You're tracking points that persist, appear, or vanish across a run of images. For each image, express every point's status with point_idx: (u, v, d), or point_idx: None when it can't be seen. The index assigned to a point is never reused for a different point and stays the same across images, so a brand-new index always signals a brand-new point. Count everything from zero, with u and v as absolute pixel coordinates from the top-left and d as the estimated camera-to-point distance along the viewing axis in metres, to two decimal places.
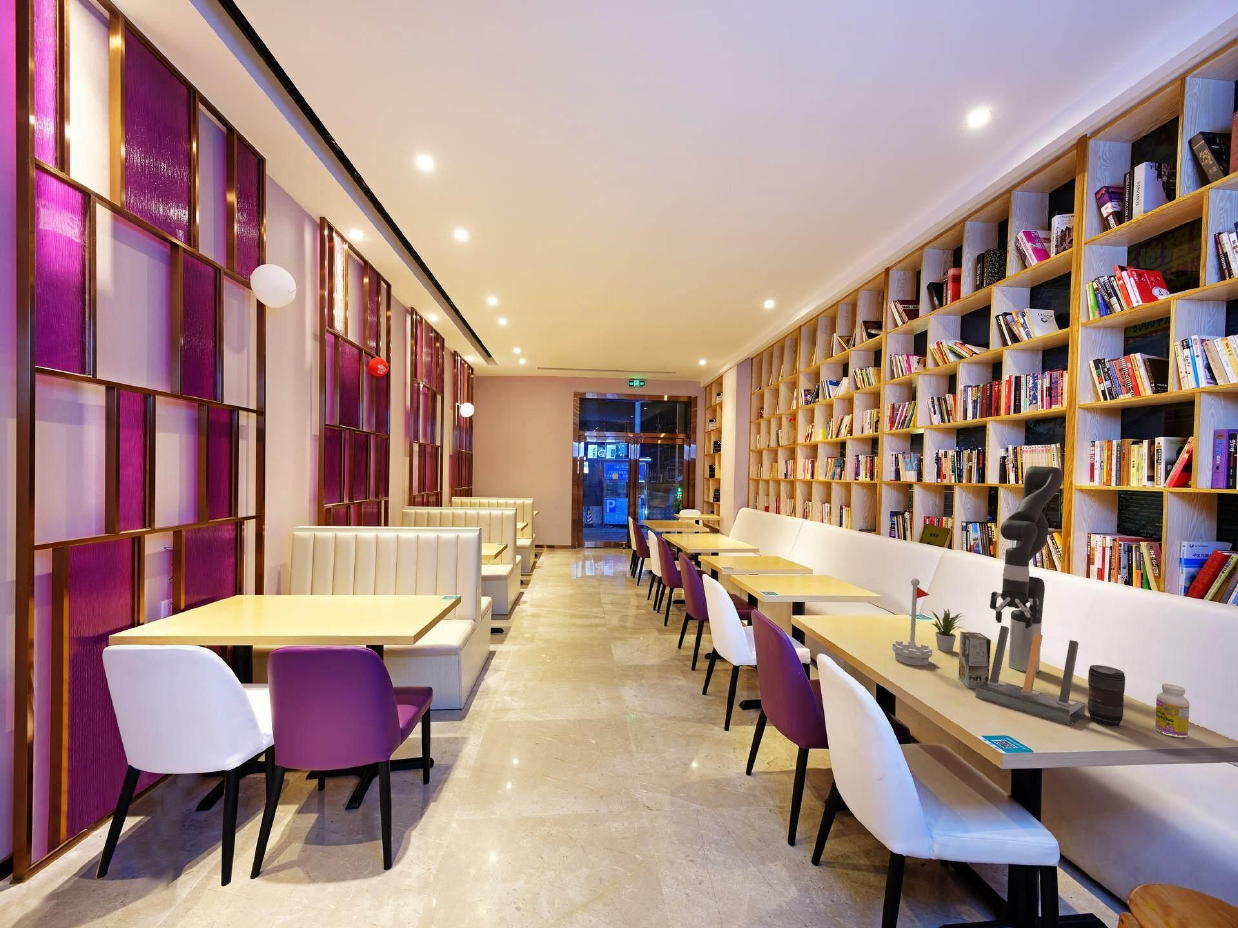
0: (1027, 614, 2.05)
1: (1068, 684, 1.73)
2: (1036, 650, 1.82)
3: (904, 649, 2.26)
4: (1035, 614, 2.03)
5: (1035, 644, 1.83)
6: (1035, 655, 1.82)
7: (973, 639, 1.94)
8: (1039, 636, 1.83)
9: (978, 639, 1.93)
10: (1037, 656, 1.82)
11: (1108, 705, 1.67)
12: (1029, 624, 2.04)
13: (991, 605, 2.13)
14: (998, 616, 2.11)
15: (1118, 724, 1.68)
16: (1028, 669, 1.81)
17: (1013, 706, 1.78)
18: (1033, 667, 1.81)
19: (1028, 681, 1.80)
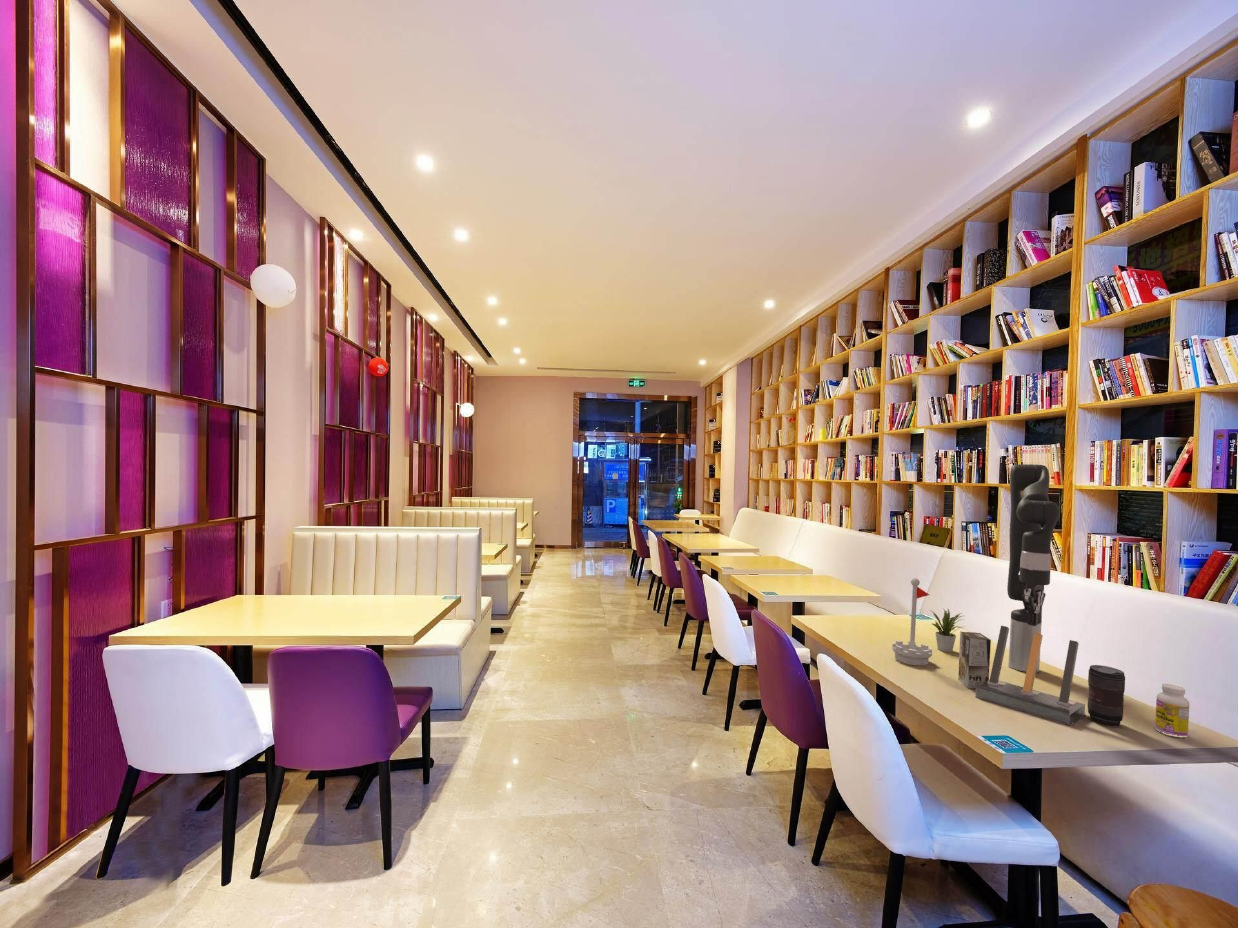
0: (1038, 609, 1.80)
1: (1068, 684, 1.73)
2: (1036, 650, 1.82)
3: (904, 649, 2.26)
4: (1041, 607, 1.82)
5: (1035, 644, 1.83)
6: (1035, 655, 1.82)
7: (973, 639, 1.93)
8: (1039, 636, 1.83)
9: (978, 639, 1.93)
10: (1037, 656, 1.82)
11: (1108, 705, 1.67)
12: None
13: (1034, 608, 1.78)
14: (1036, 618, 1.80)
15: (1118, 724, 1.68)
16: (1028, 669, 1.81)
17: (1013, 706, 1.78)
18: (1033, 667, 1.81)
19: (1028, 681, 1.80)
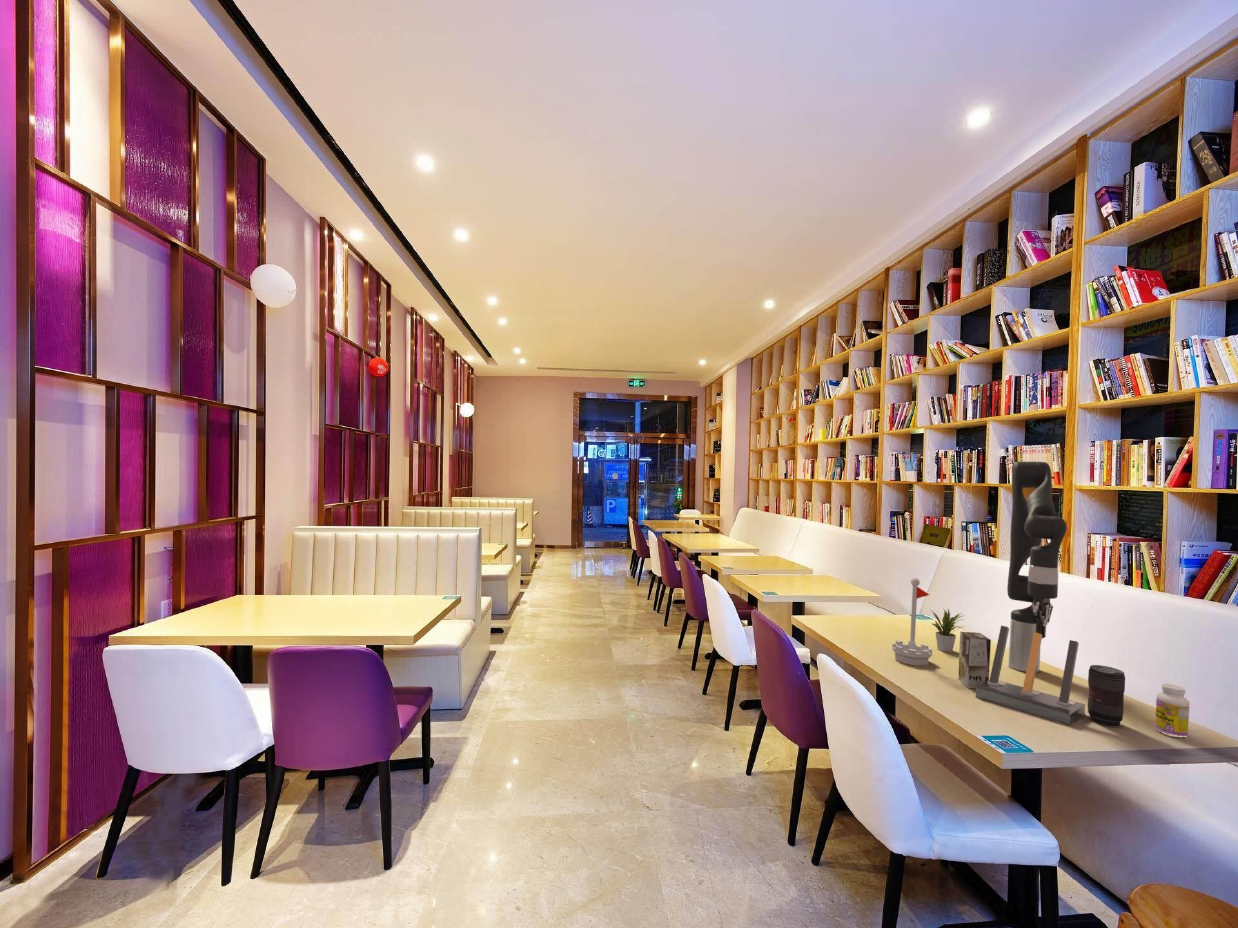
0: (1046, 621, 1.85)
1: (1068, 684, 1.73)
2: (1036, 650, 1.82)
3: (904, 649, 2.26)
4: (1049, 619, 1.86)
5: (1035, 644, 1.83)
6: (1035, 655, 1.81)
7: (973, 639, 1.93)
8: (1039, 636, 1.83)
9: (978, 639, 1.93)
10: (1037, 656, 1.82)
11: (1108, 705, 1.67)
12: None
13: (1043, 621, 1.83)
14: (1044, 631, 1.84)
15: (1118, 724, 1.68)
16: (1028, 669, 1.81)
17: (1013, 706, 1.78)
18: (1033, 667, 1.80)
19: (1028, 681, 1.80)
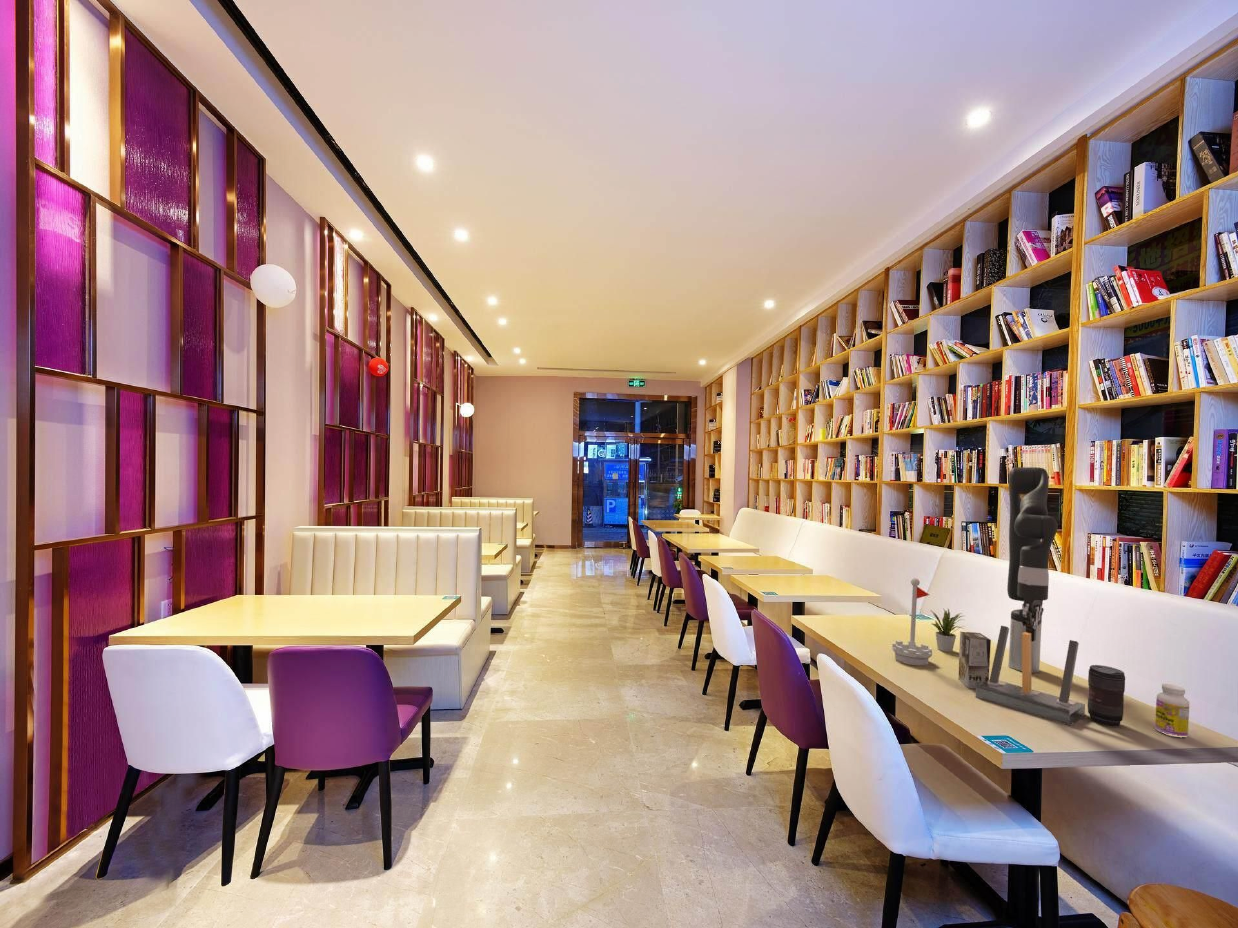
0: (1036, 624, 1.79)
1: (1068, 684, 1.73)
2: (1028, 652, 1.77)
3: (904, 649, 2.26)
4: (1039, 622, 1.80)
5: (1025, 646, 1.78)
6: (1027, 657, 1.77)
7: (973, 639, 1.93)
8: (1028, 637, 1.77)
9: (978, 639, 1.93)
10: (1030, 656, 1.78)
11: (1108, 705, 1.67)
12: None
13: (1032, 623, 1.77)
14: (1034, 634, 1.78)
15: (1118, 724, 1.68)
16: (1023, 671, 1.79)
17: (1013, 706, 1.78)
18: (1028, 669, 1.78)
19: (1026, 683, 1.79)
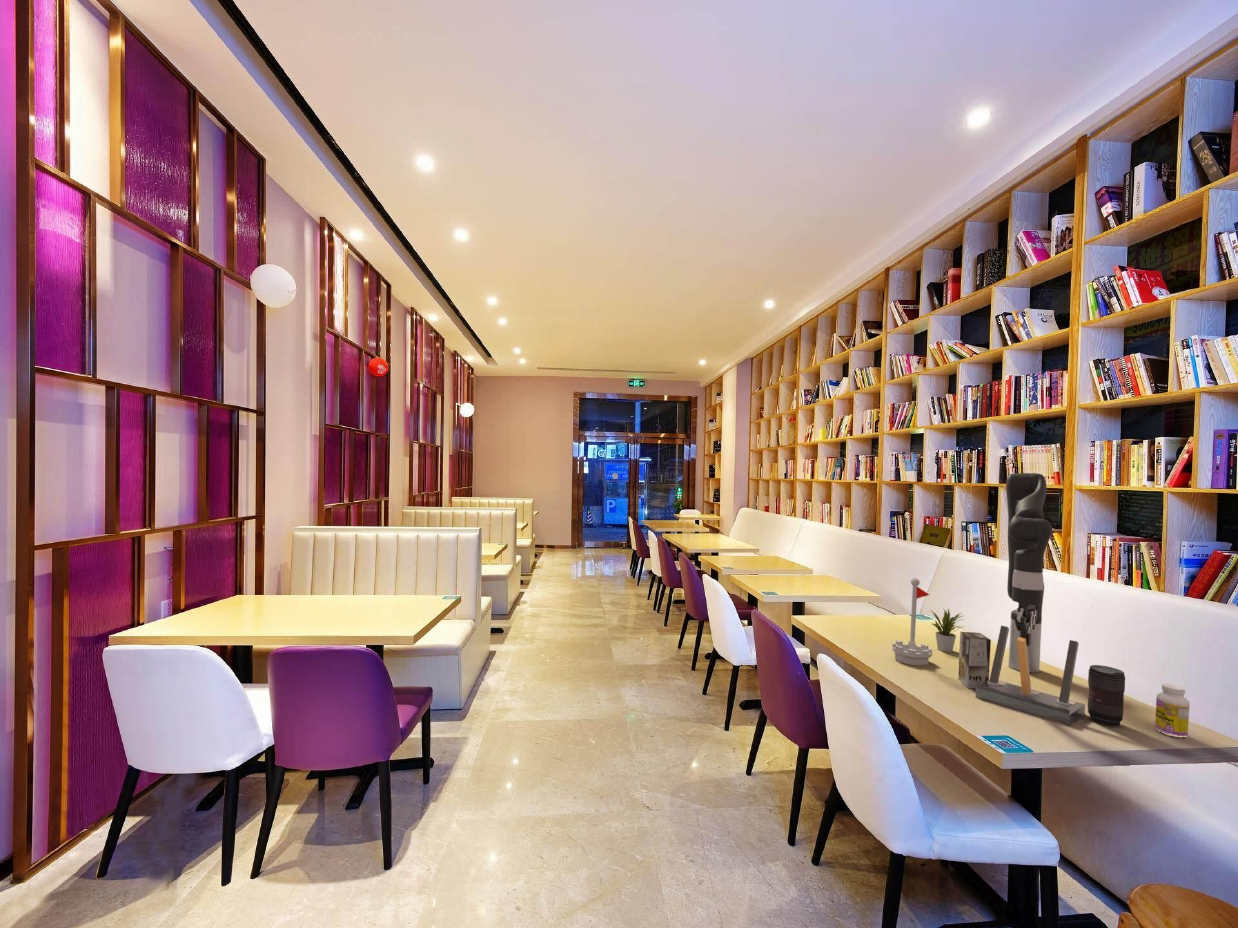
0: (1031, 629, 1.76)
1: (1068, 684, 1.73)
2: (1024, 657, 1.75)
3: (904, 649, 2.26)
4: (1033, 626, 1.78)
5: (1021, 651, 1.76)
6: (1024, 661, 1.76)
7: (973, 639, 1.93)
8: (1023, 644, 1.74)
9: (978, 639, 1.93)
10: (1026, 660, 1.76)
11: (1108, 705, 1.67)
12: None
13: (1027, 628, 1.74)
14: (1029, 638, 1.76)
15: (1118, 724, 1.68)
16: (1021, 674, 1.78)
17: (1013, 706, 1.78)
18: (1026, 672, 1.77)
19: (1025, 685, 1.78)
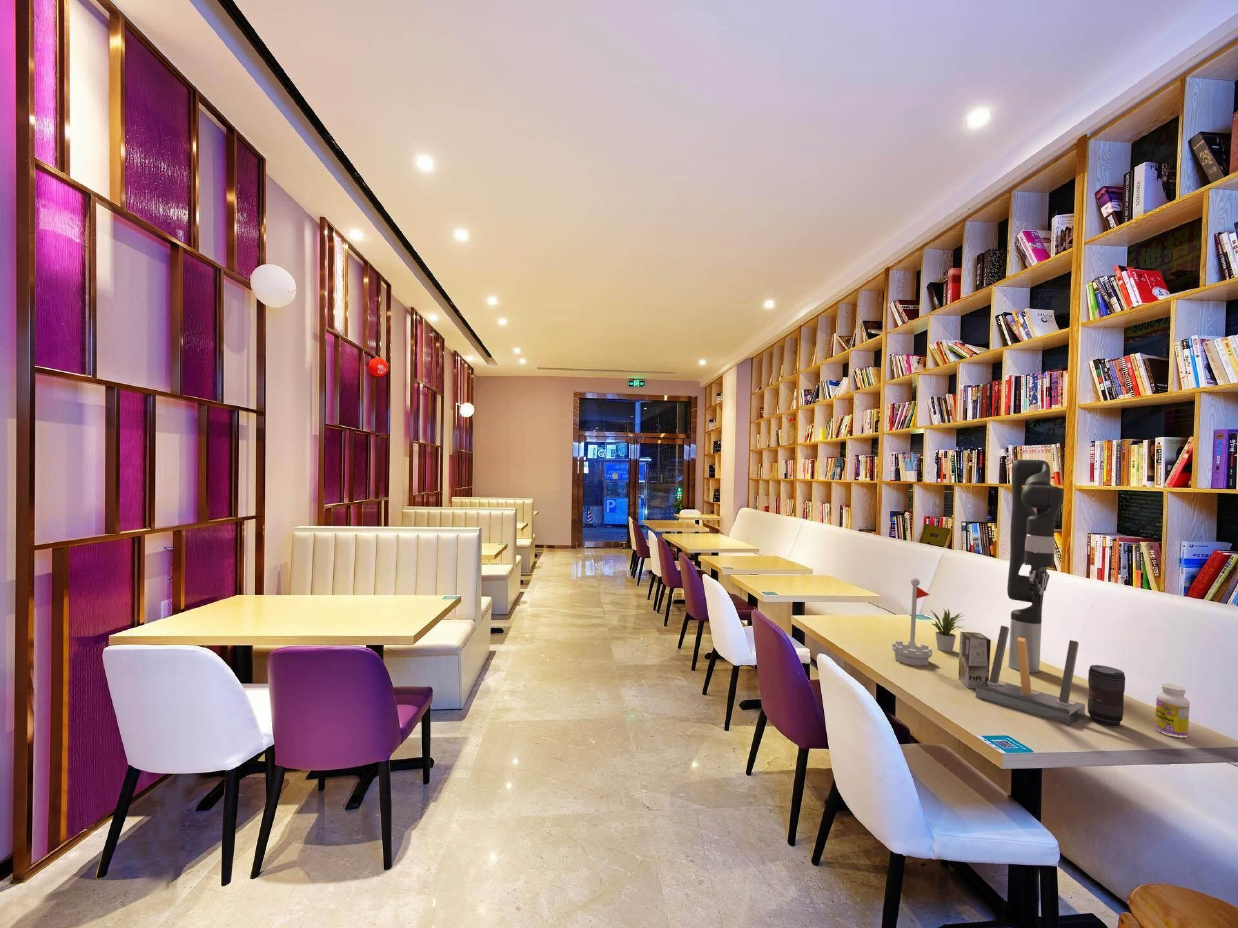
0: (1043, 590, 1.87)
1: (1068, 684, 1.73)
2: (1024, 657, 1.75)
3: (904, 649, 2.26)
4: (1045, 588, 1.88)
5: (1021, 651, 1.75)
6: (1024, 661, 1.76)
7: (973, 639, 1.94)
8: (1023, 644, 1.74)
9: (978, 639, 1.93)
10: (1026, 660, 1.76)
11: (1108, 705, 1.67)
12: None
13: (1039, 589, 1.85)
14: (1040, 599, 1.86)
15: (1118, 724, 1.68)
16: (1021, 674, 1.78)
17: (1013, 706, 1.78)
18: (1026, 672, 1.77)
19: (1025, 685, 1.78)
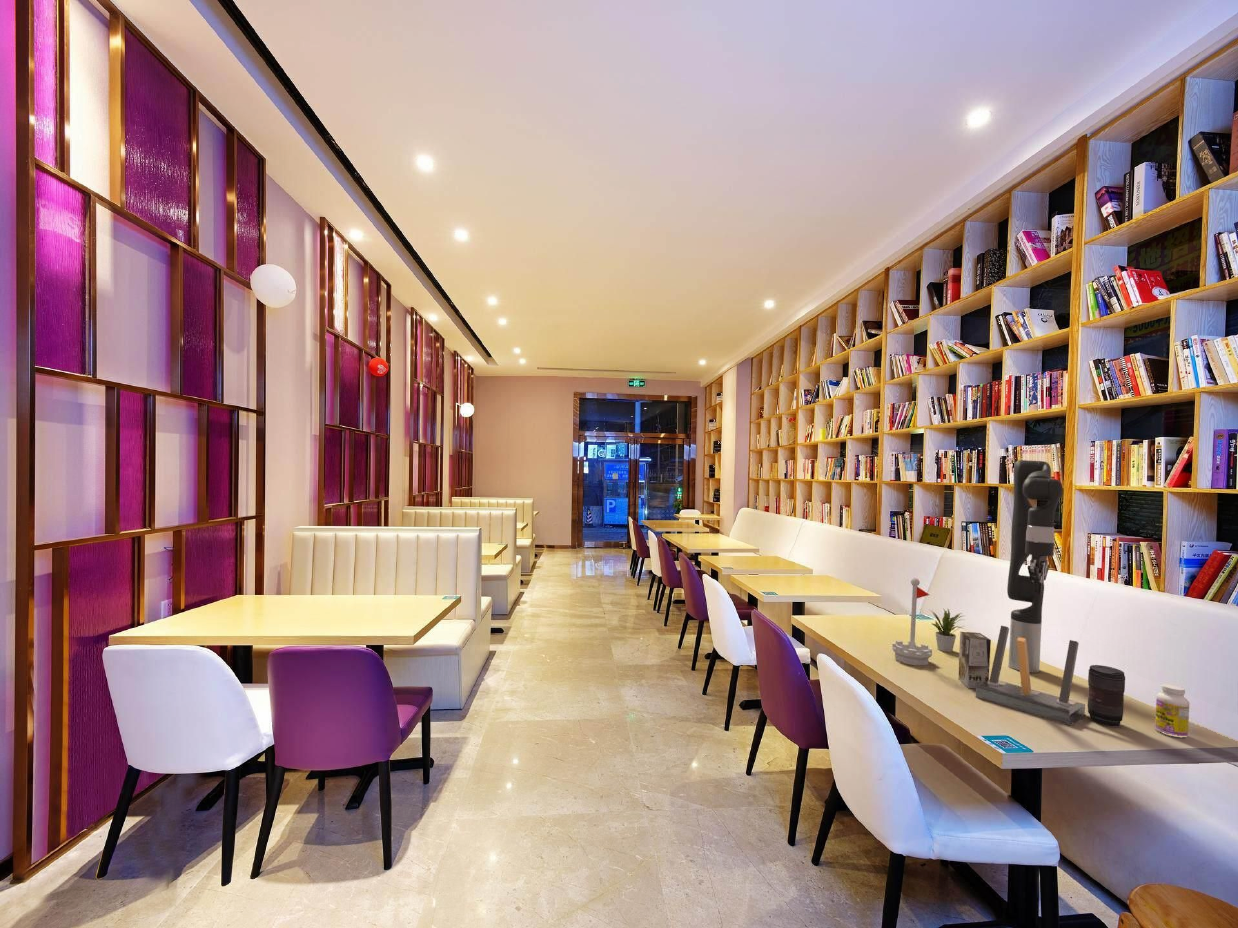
0: (1043, 579, 1.94)
1: (1068, 684, 1.73)
2: (1024, 657, 1.75)
3: (904, 649, 2.26)
4: (1045, 577, 1.95)
5: (1021, 651, 1.75)
6: (1024, 661, 1.76)
7: (973, 639, 1.93)
8: (1023, 644, 1.74)
9: (978, 639, 1.93)
10: (1026, 660, 1.76)
11: (1108, 705, 1.67)
12: None
13: (1039, 578, 1.92)
14: (1041, 587, 1.94)
15: (1118, 724, 1.68)
16: (1021, 674, 1.78)
17: (1013, 706, 1.78)
18: (1026, 672, 1.77)
19: (1025, 685, 1.78)
